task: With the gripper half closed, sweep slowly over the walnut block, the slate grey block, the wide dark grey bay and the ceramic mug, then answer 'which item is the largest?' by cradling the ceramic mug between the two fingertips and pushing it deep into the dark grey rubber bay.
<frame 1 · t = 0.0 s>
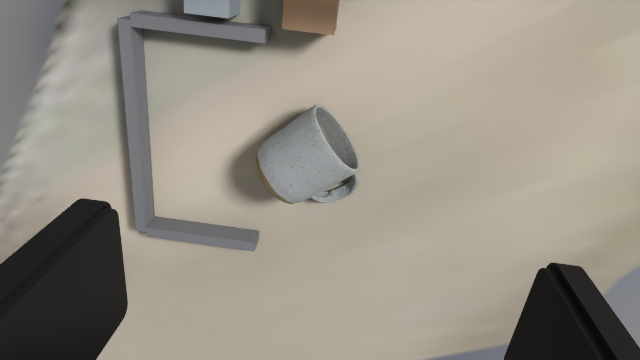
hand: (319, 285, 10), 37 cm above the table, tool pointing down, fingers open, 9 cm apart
walnut block: (315, 0, 42), on the table
ceramic mug: (320, 151, 49), on the table
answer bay: (227, 139, 49), on the table
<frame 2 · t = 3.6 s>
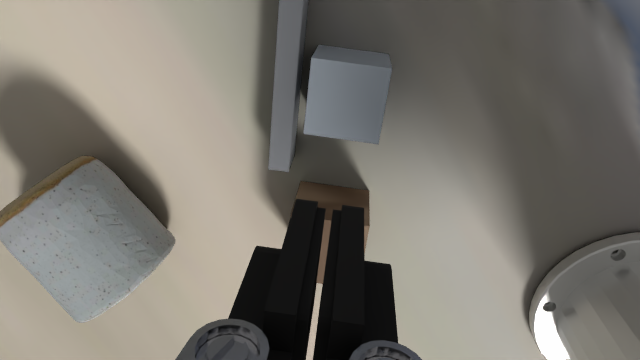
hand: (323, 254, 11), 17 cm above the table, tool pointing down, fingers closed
walnut block: (330, 214, 31), on the table
ceramic mug: (108, 216, 33), on the table
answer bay: (101, 68, 28), on the table
slate block: (348, 83, 27), on the table
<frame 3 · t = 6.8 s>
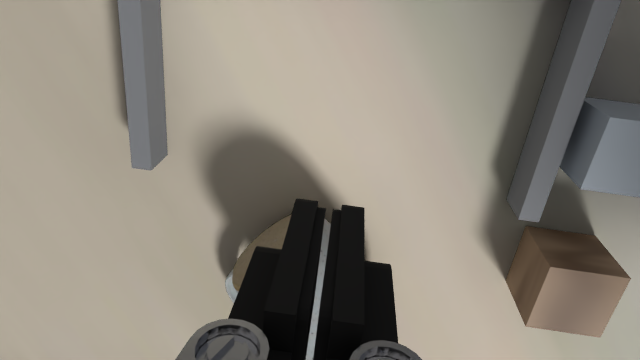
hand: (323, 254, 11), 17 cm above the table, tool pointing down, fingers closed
walnut block: (548, 258, 31), on the table
ceramic mug: (302, 264, 33), on the table
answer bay: (342, 117, 27), on the table
slate block: (598, 133, 27), on the table
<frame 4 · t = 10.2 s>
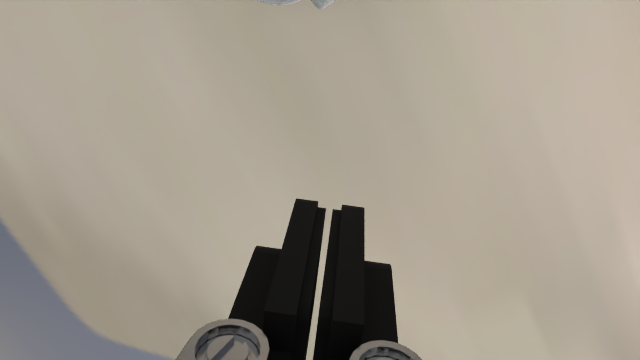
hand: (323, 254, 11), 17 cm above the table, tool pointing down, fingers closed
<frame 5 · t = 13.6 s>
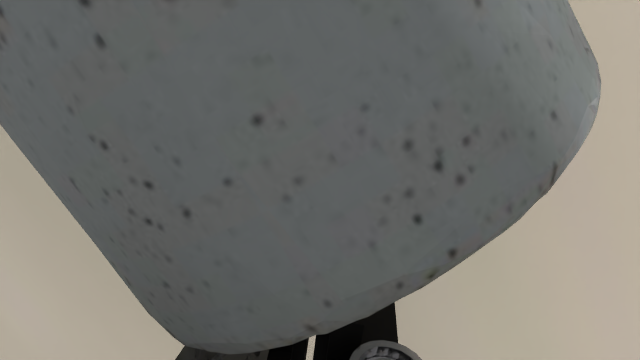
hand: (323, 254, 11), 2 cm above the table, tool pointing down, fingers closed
ceramic mug: (235, 13, 11), on the table, touching gripper
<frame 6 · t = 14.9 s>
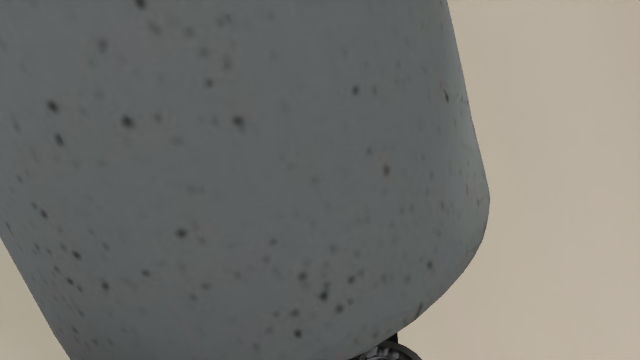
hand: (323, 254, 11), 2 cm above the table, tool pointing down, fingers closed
ceramic mug: (210, 40, 11), on the table, touching gripper
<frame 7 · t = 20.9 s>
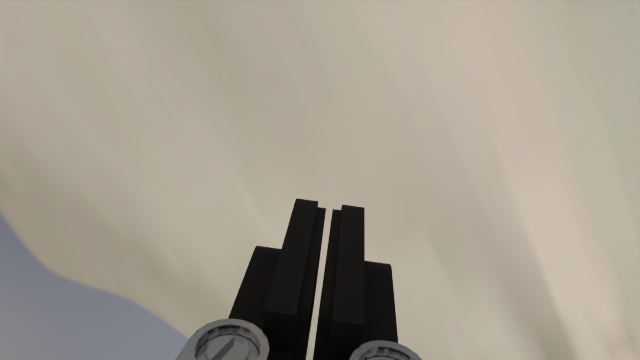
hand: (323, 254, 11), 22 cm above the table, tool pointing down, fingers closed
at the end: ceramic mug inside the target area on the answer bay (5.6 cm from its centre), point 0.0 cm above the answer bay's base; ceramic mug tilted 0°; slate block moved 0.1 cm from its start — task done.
